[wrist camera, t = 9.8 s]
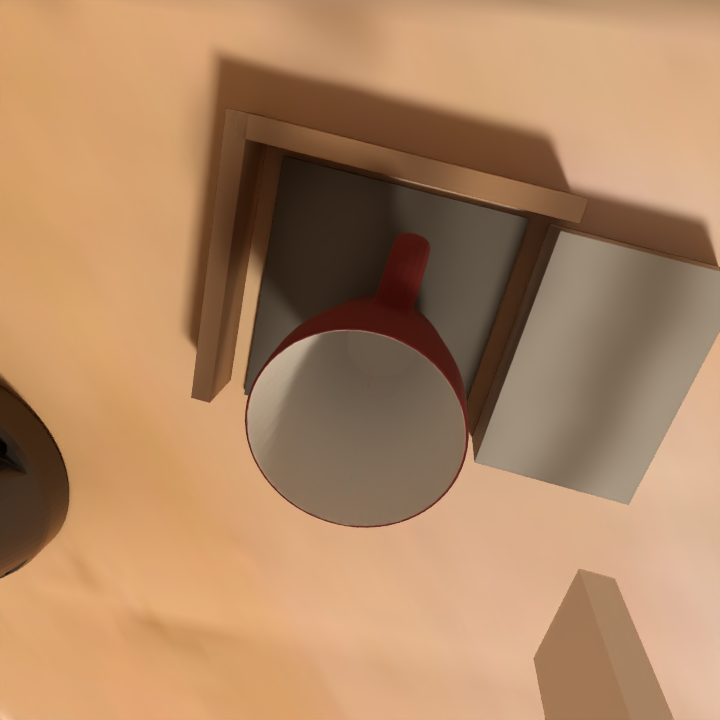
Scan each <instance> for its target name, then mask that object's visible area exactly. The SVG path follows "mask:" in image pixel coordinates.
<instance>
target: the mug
mask: <svg viewBox="0 0 720 720" xmlns="http://www.w3.org/2000/svg"><path fill="white" fill-rule="evenodd" d="M429 255H430V244H429V242H428V241H427V240H426V239H425V238H424V237H422V236H420V235H418V234H414V233H409V232H408V233H401V234H400V235H398V236H397V238H396V239H395V241H394V244H393V246H392V249H391V252H390V255H389V257H388V260H387V263H386V266H385V269H384V272H383V275H382V278H381V281H380V285H379V288H378V291H377V294H376V295H369V296H363V297H358V298H354V299H351V300H348V301H345V302H343V303H341V304H338V305H336V306H334V307H332V308H330V309H327V310H325V311H323V312H321V313H319V314H317V315H315V316H313V317H311V318H310V319H308V320H306V321H305V322H303V323H302V324H301V325H299V326H298V327H297V328H295V329H294V330H293V331H292V332H291V333H290V334H289V335H288V336H287V337H286V338H285V339H284V340H283V341H282V342H281V343H280V345H279V346H278V347H277V348H276V349H275V351H274V352H273V353H272V354H271V356H270V357H269V359H268V360H267V361H266V363H265V364H264V365H263V367H262V368H261V370H260V371H259V373H258V375H257V377H256V378H255V380H254V382H253V385H252V387H251V390H250V392H249V396H248V400H247V405H246V412H245V426H246V435H247V440H248V444H249V447H250V450H251V453H252V456H253V458H254V460H255V462H256V464H257V466H258V468H259V469H260V471H261V473H262V474H263V476H264V477H265V478H266V480H267V481H268V482H269V484H270V485H271V486H272V487H273V488H274V489H275V490H276V491H277V492H278V493H279V494H280V495H281V496H282V497H283V498H285V499H286V500H287V501H288V502H290V503H291V504H292V505H294V506H295V507H297V508H299V509H300V510H302V511H304V512H306V513H307V514H309V515H312V516H314V517H316V518H318V519H321V520H324V521H327V522H330V523H334V524H338V525H343V526H350V527H366V528H368V527H381V526H388V525H392V524H396V523H400V522H403V521H406V520H408V519H411V518H413V517H415V516H417V515H419V514H421V513H423V512H424V511H426V510H427V509H429V508H430V507H432V506H433V505H434V504H435V503H437V502H438V501H439V500H440V499H441V498H442V497H443V496H444V495H445V494H446V493H447V492H448V490H449V489H450V488H451V487H452V485H453V484H454V482H455V481H456V479H457V477H458V475H459V473H460V471H461V469H462V466H463V463H464V461H465V457H466V452H467V448H468V438H469V430H468V410H467V400H466V393H465V389H464V384H463V380H462V377H461V374H460V371H459V369H458V366H457V364H456V362H455V360H454V358H453V356H452V354H451V353H450V351H449V349H448V348H447V346H446V345H445V343H444V341H443V340H442V338H441V337H440V335H439V334H438V332H437V330H436V329H435V327H434V326H433V325H432V324H431V322H430V321H429V320H428V319H427V318H426V317H425V316H424V315H423V314H422V313H421V312H420V311H419V310H418V309H416V308H415V307H414V304H415V301H416V298H417V295H418V292H419V289H420V286H421V283H422V279H423V276H424V273H425V269H426V266H427V262H428V259H429Z"/></svg>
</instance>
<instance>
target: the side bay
mask: <svg viewBox="0 0 720 720" xmlns="http://www.w3.org/2000/svg"><path fill="white" fill-rule="evenodd" d="M266 144H268V145H272V146H276V147H280V148H283V149H287V150H291V151H295V152H299V153H303V154H307V155H311V156H315V157H319V158H323V159H327V160H331V161H335V162H339V163H342V164H346V165H350V166H354V167H358V168H362V169H366V170H370V171H374V172H378V173H382V174H386V175H390V176H394V177H398V178H401V179H405V180H409V181H413V182H417V183H421V184H425V185H429V186H433V187H437V188H441V189H445V190H449V191H453V192H457V193H460V194H464V195H468V196H472V197H476V198H480V199H484V200H488V201H492V202H496V203H500V204H504V205H508V206H512V207H516V208H520V209H523V210H527V211H531V212H535V213H539V214H543V215H547V216H551V217H555V218H559V219H563V220H567V221H571V222H575V223H579V224H580V221H581V218H582V216H583V213H584V211H585V208H586V205H587V203H588V200H589V199H586V198H583V197H580V196H577V195H574V194H570V193H567V192H563V191H559V190H555V189H551V188H547V187H543V186H539V185H535V184H531V183H527V182H523V181H519V180H515V179H511V178H507V177H503V176H499V175H495V174H491V173H487V172H483V171H479V170H475V169H471V168H467V167H463V166H459V165H455V164H451V163H447V162H443V161H439V160H435V159H431V158H428V157H424V156H420V155H416V154H412V153H408V152H404V151H400V150H396V149H392V148H388V147H384V146H380V145H376V144H372V143H368V142H364V141H360V140H356V139H352V138H348V137H344V136H340V135H336V134H332V133H328V132H324V131H320V130H316V129H312V128H308V127H304V126H300V125H296V124H292V123H289V122H285V121H281V120H277V119H273V118H269V117H265V116H261V115H257V114H253V113H249V112H244V111H239V110H234V109H229V108H226V114H225V122H224V131H223V139H222V147H221V156H220V164H219V172H218V181H217V189H216V197H215V205H214V214H213V222H212V230H211V239H210V247H209V255H208V263H207V272H206V280H205V288H204V297H203V305H202V313H201V321H200V330H199V338H198V346H197V355H196V363H195V371H194V380H193V388H192V396H191V398H195V399H198V400H202V401H205V402H209V403H210V402H211V401H212V400H213V398H214V397H215V396H216V395H217V394H218V393H219V392H220V391H221V390H222V389H223V388H224V387H225V385H226V384H227V383H228V382H229V381H230V380H231V374H232V367H233V360H234V354H235V347H236V341H237V334H238V327H239V321H240V314H241V307H242V301H243V294H244V287H245V281H246V274H247V267H248V261H249V254H250V248H251V241H252V234H253V228H254V221H255V214H256V208H257V201H258V194H259V188H260V181H261V174H262V168H263V161H264V155H265V148H266ZM529 221H530V219H529V218H526V217H522V216H518V215H514V214H510V213H506V212H502V211H498V210H494V209H490V208H486V207H482V206H478V205H475V204H471V203H467V202H463V201H459V200H455V199H451V198H447V197H443V196H439V195H435V194H431V193H427V192H424V191H420V190H416V189H412V188H408V187H404V186H400V185H396V184H392V183H388V182H384V181H380V180H376V179H372V178H369V177H365V176H361V175H357V174H353V173H349V172H345V171H341V170H337V169H333V168H329V167H325V166H321V165H318V164H314V163H310V162H306V161H302V160H298V159H294V158H290V157H286V156H283V161H282V167H281V173H280V179H279V185H278V191H277V197H276V203H275V209H274V216H273V222H272V228H271V234H270V240H269V246H268V252H267V258H266V265H265V271H264V277H263V283H262V289H261V295H260V301H259V307H258V313H257V320H256V326H255V332H254V338H253V344H252V350H251V356H250V362H249V369H248V375H247V381H246V387H245V393H244V395H248V396H249V392H250V390H251V387H252V385H253V382H254V380H255V378H256V377H257V375H258V373H259V371H260V370H261V368H262V367H263V365H264V364H265V363H266V361H267V360H268V359H269V357H270V356H271V354H272V353H273V352H274V351H275V349H276V348H277V347H278V346H279V345H280V343H281V342H282V341H283V340H284V339H285V338H286V337H287V336H288V335H289V334H290V333H291V332H292V331H293V330H294V329H295V328H297V327H298V326H299V325H301V324H302V323H303V322H305V321H306V320H308V319H310V318H311V317H313V316H315V315H317V314H319V313H321V312H323V311H325V310H327V309H330V308H332V307H334V306H336V305H338V304H341V303H343V302H345V301H348V300H351V299H354V298H358V297H363V296H369V295H376V294H377V291H378V288H379V285H380V281H381V278H382V275H383V272H384V269H385V266H386V263H387V260H388V257H389V255H390V252H391V249H392V246H393V244H394V241H395V239H396V238H397V236H398V235H400V234H401V233H408V232H409V233H414V234H418V235H420V236H422V237H424V238H425V239H426V240H427V241H428V242H429V244H430V255H429V259H428V262H427V266H426V269H425V273H424V276H423V279H422V283H421V286H420V289H419V292H418V295H417V298H416V301H415V304H414V307H415V308H416V309H418V310H419V311H420V312H421V313H422V314H423V315H424V316H425V317H426V318H427V319H428V320H429V321H430V322H431V324H432V325H433V326H434V327H435V329H436V330H437V332H438V334H439V335H440V337H441V338H442V340H443V341H444V343H445V345H446V346H447V348H448V349H449V351H450V353H451V354H452V356H453V358H454V360H455V362H456V364H457V366H458V369H459V371H460V374H461V377H462V380H463V384H464V389H465V393H466V400H467V399H468V396H469V393H470V391H471V388H472V385H473V382H474V379H475V376H476V373H477V370H478V368H479V365H480V362H481V359H482V356H483V353H484V350H485V347H486V344H487V342H488V339H489V336H490V333H491V330H492V327H493V324H494V321H495V319H496V316H497V313H498V310H499V307H500V304H501V301H502V298H503V296H504V293H505V290H506V287H507V284H508V281H509V278H510V275H511V272H512V270H513V267H514V264H515V261H516V258H517V255H518V252H519V249H520V247H521V244H522V241H523V238H524V235H525V232H526V229H527V226H528V223H529ZM719 332H720V267H718V266H714V265H710V264H706V263H702V262H698V261H694V260H690V259H686V258H683V257H679V256H675V255H671V254H667V253H663V252H659V251H655V250H651V249H647V248H643V247H639V246H635V245H632V244H628V243H624V242H620V241H616V240H612V239H608V238H604V237H600V236H596V235H592V234H588V233H584V232H580V231H577V230H573V229H569V228H565V227H561V226H557V225H553V224H550V225H549V227H548V230H547V233H546V236H545V238H544V241H543V244H542V247H541V250H540V252H539V255H538V258H537V261H536V263H535V266H534V269H533V272H532V274H531V277H530V280H529V283H528V285H527V288H526V291H525V294H524V296H523V299H522V302H521V305H520V307H519V310H518V313H517V316H516V318H515V321H514V324H513V327H512V330H511V332H510V335H509V338H508V341H507V343H506V346H505V349H504V352H503V354H502V357H501V360H500V363H499V365H498V368H497V371H496V374H495V376H494V379H493V382H492V385H491V387H490V390H489V393H488V396H487V398H486V401H485V404H484V407H483V410H482V412H481V415H480V418H479V421H478V423H477V426H476V429H475V432H474V434H473V437H472V442H473V452H474V461H475V463H479V464H482V465H486V466H490V467H493V468H497V469H501V470H504V471H508V472H511V473H515V474H519V475H522V476H526V477H529V478H533V479H537V480H540V481H544V482H548V483H551V484H555V485H558V486H562V487H566V488H569V489H573V490H576V491H580V492H584V493H587V494H591V495H594V496H598V497H602V498H605V499H609V500H613V501H616V502H620V503H623V504H627V505H629V503H630V501H631V500H632V498H633V496H634V494H635V492H636V490H637V488H638V486H639V484H640V482H641V480H642V479H643V477H644V475H645V473H646V471H647V469H648V467H649V465H650V463H651V461H652V460H653V458H654V456H655V454H656V452H657V450H658V448H659V446H660V444H661V442H662V440H663V439H664V437H665V435H666V433H667V431H668V429H669V427H670V425H671V423H672V421H673V420H674V418H675V416H676V414H677V412H678V410H679V408H680V406H681V404H682V402H683V400H684V399H685V397H686V395H687V393H688V391H689V389H690V387H691V385H692V383H693V381H694V379H695V378H696V376H697V374H698V372H699V370H700V368H701V366H702V364H703V362H704V360H705V359H706V357H707V355H708V353H709V351H710V349H711V347H712V345H713V343H714V341H715V339H716V338H717V336H718V334H719Z"/></svg>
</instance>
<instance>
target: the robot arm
mask: <svg viewBox="0 0 720 720" xmlns="http://www.w3.org/2000/svg"><path fill="white" fill-rule="evenodd" d="M68 505H69V487H68V480H67V475H66V471H65V468H64V465H63V462H62V459H61V457H60V455H59V453H58V451H57V449H56V447H55V445H54V443H53V441H52V440H51V438H50V436H49V435H48V433H47V432H46V430H45V429H44V428H43V426H42V425H41V424H40V422H39V421H38V420H37V419H36V418H35V416H34V415H33V414H32V413H31V412H30V411H29V410H28V409H27V408H26V407H25V406H24V405H23V404H22V403H21V402H20V401H18V400H17V399H16V398H15V397H14V396H13V395H11V394H10V393H9V392H7V391H6V390H5V389H3V388H2V387H0V578H3V577H5V576H7V575H9V574H11V573H13V572H15V571H17V570H19V569H20V568H22V567H23V566H25V565H26V564H27V563H29V562H30V561H31V560H32V559H33V558H34V557H35V556H36V555H37V554H38V553H39V552H40V551H41V550H42V549H43V548H44V547H45V546H46V545H47V544H48V543H49V542H50V541H51V540H52V539H53V538H54V537H55V536H56V535H57V534H58V532H59V531H60V529H61V527H62V525H63V523H64V521H65V518H66V515H67V511H68ZM534 663H535V668H536V673H537V678H538V684H539V689H540V694H541V699H542V704H543V709H544V714H545V720H674V719H673V716H672V714H671V711H670V709H669V707H668V704H667V702H666V700H665V697H664V695H663V692H662V690H661V688H660V685H659V683H658V681H657V678H656V676H655V673H654V671H653V669H652V666H651V664H650V661H649V659H648V657H647V654H646V652H645V650H644V647H643V645H642V642H641V640H640V638H639V635H638V633H637V631H636V628H635V626H634V623H633V621H632V619H631V616H630V614H629V611H628V609H627V607H626V604H625V602H624V600H623V597H622V595H621V592H620V590H619V588H618V585H617V583H616V580H615V579H614V578H611V577H607V576H603V575H600V574H596V573H593V572H589V571H585V570H582V569H579V570H578V572H577V574H576V576H575V578H574V580H573V582H572V584H571V586H570V588H569V590H568V592H567V594H566V595H565V597H564V599H563V601H562V603H561V605H560V607H559V609H558V611H557V613H556V615H555V617H554V619H553V621H552V623H551V625H550V627H549V629H548V631H547V633H546V635H545V637H544V639H543V641H542V643H541V645H540V647H539V649H538V651H537V653H536V655H535V657H534Z"/></svg>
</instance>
